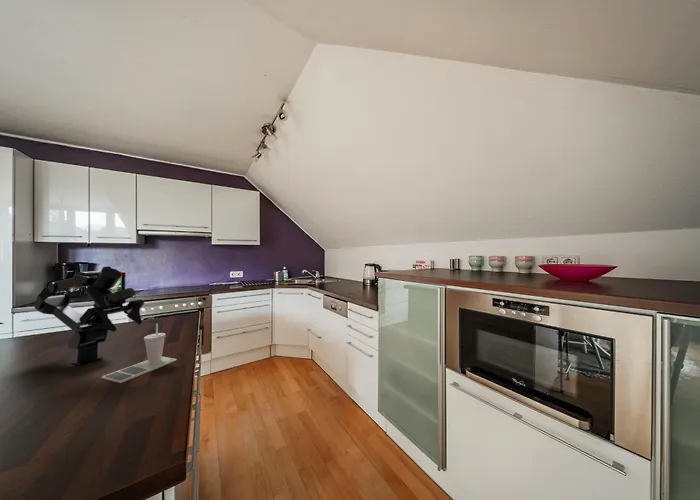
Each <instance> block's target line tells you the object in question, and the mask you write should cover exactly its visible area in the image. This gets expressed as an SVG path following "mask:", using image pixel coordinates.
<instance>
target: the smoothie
mask: <svg viewBox="0 0 700 500" xmlns="http://www.w3.org/2000/svg"><path fill="white" fill-rule="evenodd" d="M166 337H167V336H166V333H164V332H159V323H156V324H155V333H152V334H148V335H146V336H144V337H143V341H144V344H145V348H146V349H145V350H146V355H147V356H146V357H147V360H148V364H155V363H158V362H160V361H161V358H162V357H163V356H162V355H163V351H164V350H163V349H164V344H165V338H166Z"/></svg>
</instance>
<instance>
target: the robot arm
mask: <svg viewBox="0 0 700 500" xmlns="http://www.w3.org/2000/svg"><path fill="white" fill-rule="evenodd" d="M122 276H123V274H122V272H121V271H119V270H117V269H115V268H112V267H111V266H103V267H102V268H101V270H99V271H98V270H96V271H95V270H93V271H79V272H77V273H75V274H73V277H70V278H66V279H63V280H59V281H58V280H57V281H53V282H50V283H49V284H48V286H47V288H46V289H44V290H43V291H41V292H40V293H39V294H38V295H37V297H36V298H35V300H34V304H33V305H34V307H33V308H34V309H35V310H36V311H37V312H39V313H41V314H43V315H53V316H54V317H55V318H57V319H58V320H59V321H60V322H62V323H63V324H64V325H66V326H67V327H68V328H69V329H70V330H72V331H73V334H72V337H71V338H70V340H68V342H67V345H68V348H69V349H74V350H76V355H75V356H76V359H75V360H72V361H70V362H71V363H72V364H75V365H78V366H82V365H85V364H88V363H91V362H95V361H99V360H101V359H104V356H100V355H99V344H100V343H103V342H104V343H105V342H106V340H107V335H108V332H109V331H110V332H116V331H118V329H117V327H116V326H115V324H114V323H113V321H112V320H111V319H110V318H109V315H114V314H119V313H124V314H126V318H129V319H130V320H131V321H133V322H134V323H136V324H138V325H141V324H142V323H143V321H142V317H141V312H140V309H141V308H142V307H143V306H144V304H145V302H144V301H143V300H142V299H139V298H138V299H135V300H130V301H129V302H128V303H126V302H127V300H128V299H130V298H133V297H134V296H135V295H136V291H135V290H134V289H133V287H128V288H126V289H120V290H116V291H114V292H113V291H111V289H113V288H115V285H116V284H117V282H118V281H119V280H120V279H121V277H122ZM76 288H86V289H85V290H84V293H83V298H88V297H89V298H90V299H91V300H92V301H93V303H94V304H93V305H92V307H89V308H87V309H86V310H85V312H83V314H80V313H79V312H78V311H77V310H75V309H74V308H73V307H72V306H70V301H71V299H72V298H73V297H72V294H71V292H70V290H72V289H76ZM56 292H65V293H64V294H59V295H58V294H57V295H54V293H56ZM124 304H126V305H124Z"/></svg>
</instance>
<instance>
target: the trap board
mask: <svg viewBox="0 0 700 500" xmlns="http://www.w3.org/2000/svg"><path fill="white" fill-rule="evenodd" d="M176 361H177V358H172V357H167V356H162V358H161V361H160V362H158V363H155V364H148V359H146V360H144V361H142V362H138V363H136V364H132V365H131V366H127V367H124V368H122V369H119V370H116V371H113V372H111V373H108V374H105V375H103V376H101V377H100V378H101V379H102V380H106V381H110V382H115V383H118V384H123V383H124V382H127V381H129V380H132V379H134V378H137V377H140V376H141V375H145V374H147V373H149V372H152V371H154V370H156V369H159V368H162V367H164V366H167V365H169V364H172V363H174V362H176Z"/></svg>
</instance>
